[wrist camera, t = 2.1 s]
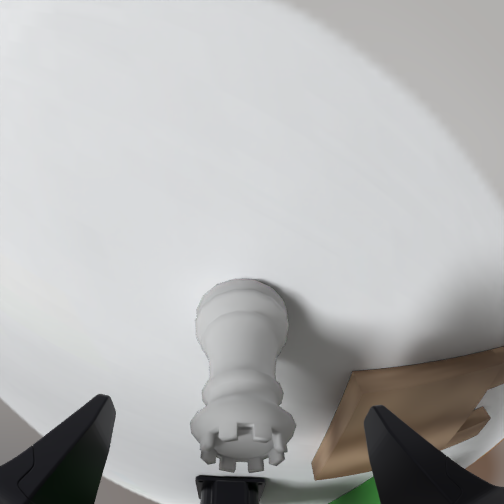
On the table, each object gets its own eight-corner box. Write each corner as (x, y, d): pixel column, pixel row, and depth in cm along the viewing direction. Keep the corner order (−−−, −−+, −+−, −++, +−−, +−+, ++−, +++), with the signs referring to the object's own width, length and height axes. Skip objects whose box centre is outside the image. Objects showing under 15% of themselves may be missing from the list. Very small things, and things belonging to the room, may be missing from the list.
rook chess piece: (188, 279, 14) (142, 414, 6) (283, 268, 13) (325, 401, 6) (206, 352, 15) (190, 484, 8) (289, 343, 15) (317, 475, 8)
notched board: (470, 423, 21) (477, 434, 19) (311, 462, 20) (314, 480, 18) (522, 340, 17) (533, 351, 15) (352, 371, 16) (362, 393, 14)
